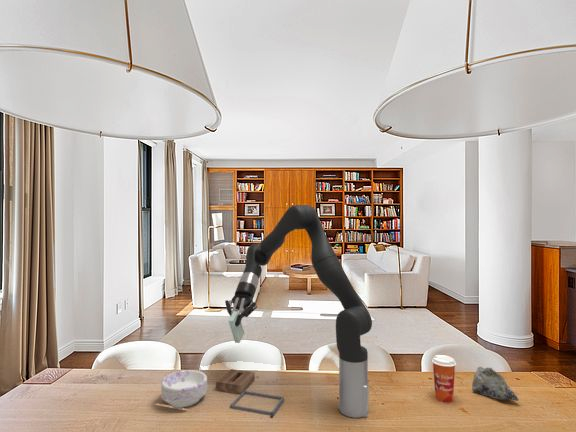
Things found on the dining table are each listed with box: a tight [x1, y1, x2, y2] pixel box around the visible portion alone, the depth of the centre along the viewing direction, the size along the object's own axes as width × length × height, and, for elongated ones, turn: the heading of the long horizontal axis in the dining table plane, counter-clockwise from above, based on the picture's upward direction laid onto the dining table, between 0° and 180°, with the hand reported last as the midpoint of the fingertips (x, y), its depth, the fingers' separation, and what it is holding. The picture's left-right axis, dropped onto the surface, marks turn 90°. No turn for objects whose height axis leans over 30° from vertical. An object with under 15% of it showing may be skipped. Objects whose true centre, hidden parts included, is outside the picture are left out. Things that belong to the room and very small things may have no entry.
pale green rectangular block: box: [228, 311, 245, 344], centre depth 136 cm, size 2×5×11 cm, turn 162°
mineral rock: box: [471, 366, 520, 402], centre depth 128 cm, size 13×11×10 cm
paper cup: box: [431, 354, 457, 403], centre depth 127 cm, size 8×8×14 cm
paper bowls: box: [160, 369, 208, 409], centre depth 125 cm, size 15×15×8 cm
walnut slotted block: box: [215, 368, 256, 396], centre depth 135 cm, size 10×12×4 cm
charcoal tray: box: [229, 390, 285, 419], centre depth 122 cm, size 15×11×2 cm
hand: (233, 325), depth 134 cm, fingers closed on pale green rectangular block, 1 cm apart
